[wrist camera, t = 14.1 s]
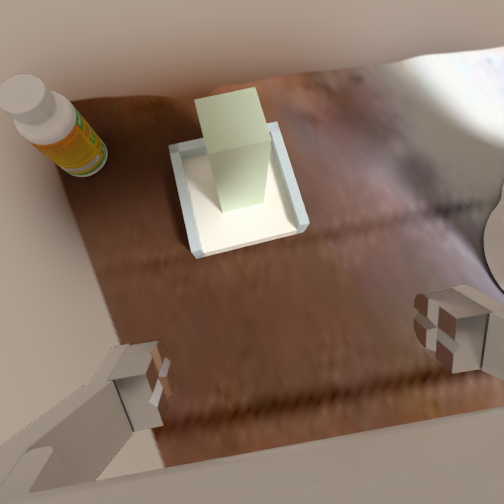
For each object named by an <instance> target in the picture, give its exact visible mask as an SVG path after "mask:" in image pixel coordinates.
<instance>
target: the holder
mask: <svg viewBox="0 0 504 504" xmlns="http://www.w3.org/2000/svg"><path fill="white" fill-rule="evenodd" d="M267 127H268V130H269V134H270V137H271V148H270V156H269V164H268V172H267V180H266V188H265V196H264V203H263V204H258V205H254V206H250V207H246V208H242V209H237V210H233V211H229V212H225V213H222V209H221V205H220V201H219V197H218V193H217V189H216V185H215V181H214V177H213V173H212V169H211V165H210V161H209V157H208V153H207V149H206V145H205V141H204V138H200V139H195V140H191V141H186V142H182V143H177V144H172V145H168V147H169V152H170V156H171V161H172V166H173V170H174V175H175V179H176V184H177V189H178V193H179V198H180V203H181V207H182V212H183V216H184V221H185V226H186V230H187V235H188V240H189V244H190V249H191V252H192V254H193V255H194V256H195V257H196V258H201V257H205V256H209V255H213V254H217V253H221V252H225V251H229V250H233V249H237V248H241V247H245V246H250V245H254V244H258V243H262V242H266V241H270V240H274V239H278V238H282V237H286V236H290V235H294V234H298V233H302V232H304V231H305V230H306V228H307V226H308V225H309V220H308V216H307V213H306V210H305V207H304V204H303V201H302V198H301V195H300V192H299V188H298V185H297V182H296V179H295V176H294V173H293V170H292V167H291V163H290V160H289V157H288V154H287V151H286V148H285V145H284V142H283V139H282V135H281V132H280V129H279V126H278V123H277V122H273V123H268V124H267Z"/></svg>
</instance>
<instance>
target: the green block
mask: <svg viewBox="0 0 504 504" xmlns="http://www.w3.org/2000/svg"><path fill="white" fill-rule="evenodd" d="M194 101H195V105H196V109H197V113H198V117H199V121H200V125H201V129H202V133H203V137H204V141H205V145H206V149H207V153H208V157H209V161H210V165H211V169H212V173H213V177H214V181H215V185H216V189H217V193H218V197H219V201H220V205H221V209H222V213H225V212H229V211H233V210H237V209H242V208H246V207H250V206H254V205H258V204H263V203H264V196H265V188H266V180H267V172H268V164H269V156H270V148H271V137H270V134H269V130H268V127H267V124H266V121H265V118H264V114H263V111H262V108H261V105H260V101H259V98H258V95H257V92H256V88H255V87H253V88H248V89H243V90H239V91H234V92H229V93H224V94H219V95H215V96H210V97H205V98H200V99H196V100H194Z"/></svg>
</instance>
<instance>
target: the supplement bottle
mask: <svg viewBox="0 0 504 504" xmlns="http://www.w3.org/2000/svg"><path fill="white" fill-rule="evenodd" d="M0 107H1V108H2V110H4V111H5V112H6V113H7V114H8V115H9V116H10V117H11V118H12V119H13V120H14V125H15V127H16V129H17V131H18V132H19V133H20V134H21V135H22V136H23V137H24V138H25V139H26V140H27V141H29V142H30V143H31V144H32V145H34V146H35V147H36V148H37V149H39V150H40V151H41V152H42V153H43V154H45V155H46V156H47V157H48V158H50V159H51V160H52V161H53V162H55V163H56V164H57V165H58V166H59V167H61V168H62V169H63V170H64V171H66V172H67V173H69V174H71V175H73V176H77V177H87V176H91V175H93V174H95V173H97V172H98V171H99V170H100V169H101V168H102V167H103V166H104V164H105V163H106V160H107V156H108V152H107V148H106V146H105V144H104V142H103V141H102V140H101V139H100V137H99V136H98V135H97V134H96V133H95V131H94V130H93V129H92V128H91V126H90V125H89V124H88V123H87V121H86V120H85V119H84V118H83V117H82V116H81V114H80V113H79V112H78V111H77V109H76V108H75V107H74V106H73V105H72V103H71V102H70V101H69V100H68V99H67V98H66V97H64V96H63V95H61V94H59V93H57V92H54V91H50V90H49V88H48V87H47V86H46V85H45V84H44V83H43V82H42V81H41V80H40V79H39V78H38V77H36V76H34V75H30V74H18V75H15V76H12V77H10V78H8V79H7V80H6V81H4V82H3V83H2V84H1V86H0Z"/></svg>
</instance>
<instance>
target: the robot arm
mask: <svg viewBox="0 0 504 504" xmlns="http://www.w3.org/2000/svg"><path fill="white" fill-rule="evenodd" d="M484 252H485V256H486V260H487V263H488V266H489V268H490V271H491V273H492V275H493V276H494V278H495V280H496V281H497V283H498V284H499V286H500V287H501V288H502V289H503V291H504V183H503V187H502V194H501V200H500V202H499V203H498V205H497V206H496V208H495V209H494V210H493V212H492V213H491V215H490V216H489V218H488V221H487V223H486V227H485V231H484ZM414 307H415V308H416V309H417V310H418V314H417V315H416V316H415V318H414V330H415V333H416V336H417V338H418V339H419V341H420V343H421V344H422V345H423V346H424V347H425V348H427V349H430V350H432V351H435V352H436V358H437V359H438V360H439V361H440V362H441V363H442V364H443V365H444V366H445V367H446V368H447V369H448V370H449V371H450V372H451V373H458V372H465V371H471V370H478V369H482V371H484V372H486V373H488V374H490V375H492V376H494V377H496V378H498V379H501V380H503V381H504V304H502V303H500V302H498V301H496V300H494V299H493V298H491V297H489V296H487V295H485V294H483V293H481V292H480V291H478V290H476V289H474V288H472V287H470V286H466V285H462V286H457V287H452V288H448V289H444V290H438V291H433V292H428V293H423V294H418V295H416V298H415V302H414ZM166 352H167V349H166V346H165V343H164V341H163V340H162V339H158V340H152V341H145V342H139V343H132V344H125V345H120V346H115V347H113V348H111V349H110V351H109V352H108V354H107V355H106V357H105V358H104V360H103V362H102V363H101V365H100V367H99V368H98V370H97V371H96V373H95V374H94V376H93V377H92V379H91V381H90V382H89V384H88V385H83V386H81V387H80V388H79V389H77V390H76V391H74V392H73V393H72V394H70V395H69V396H68V397H67V398H65V399H64V400H62V401H61V402H59V403H58V404H57V405H55V406H54V407H52V408H51V409H50V410H48V411H47V412H45V413H44V414H43V415H42V416H40V417H39V418H37V419H36V420H34V421H33V422H32V423H30V424H29V425H28V426H26V427H25V428H24V429H22V430H21V431H19V432H18V433H17V434H15V435H14V436H12V437H11V438H10V439H8V440H7V441H6V442H4V443H3V444H1V445H0V504H504V406H502V407H496V408H491V409H485V410H480V411H474V412H469V413H463V414H458V415H452V416H447V417H441V418H436V419H430V420H424V421H419V422H413V423H408V424H402V425H397V426H391V427H386V428H381V429H375V430H370V431H364V432H359V433H353V434H348V435H343V436H337V437H332V438H326V439H321V440H315V441H310V442H305V443H299V444H294V445H288V446H283V447H277V448H272V449H267V450H261V451H256V452H250V453H245V454H239V455H234V456H228V457H223V458H218V459H212V460H207V461H201V462H196V463H190V464H185V465H179V466H174V467H168V468H163V469H158V470H152V471H147V472H141V473H136V474H131V475H125V476H120V477H114V478H109V479H103V480H98V481H96V479H97V478H98V477H99V476H100V474H101V473H102V472H103V471H104V469H105V468H106V467H107V466H108V464H109V463H110V462H111V461H112V459H113V458H114V457H115V456H116V454H117V453H118V452H119V451H120V450H121V448H122V447H123V446H124V445H125V443H126V442H127V441H128V440H129V438H130V437H131V436H132V435H133V432H134V431H139V430H144V429H149V428H154V427H158V426H163V425H164V421H165V417H166V414H167V410H168V406H169V405H168V402H167V398H168V397H169V395H170V394H171V393H172V389H173V380H174V375H173V368H172V365H171V362H170V361H169V360H168V359H166V358H165V355H166Z"/></svg>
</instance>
